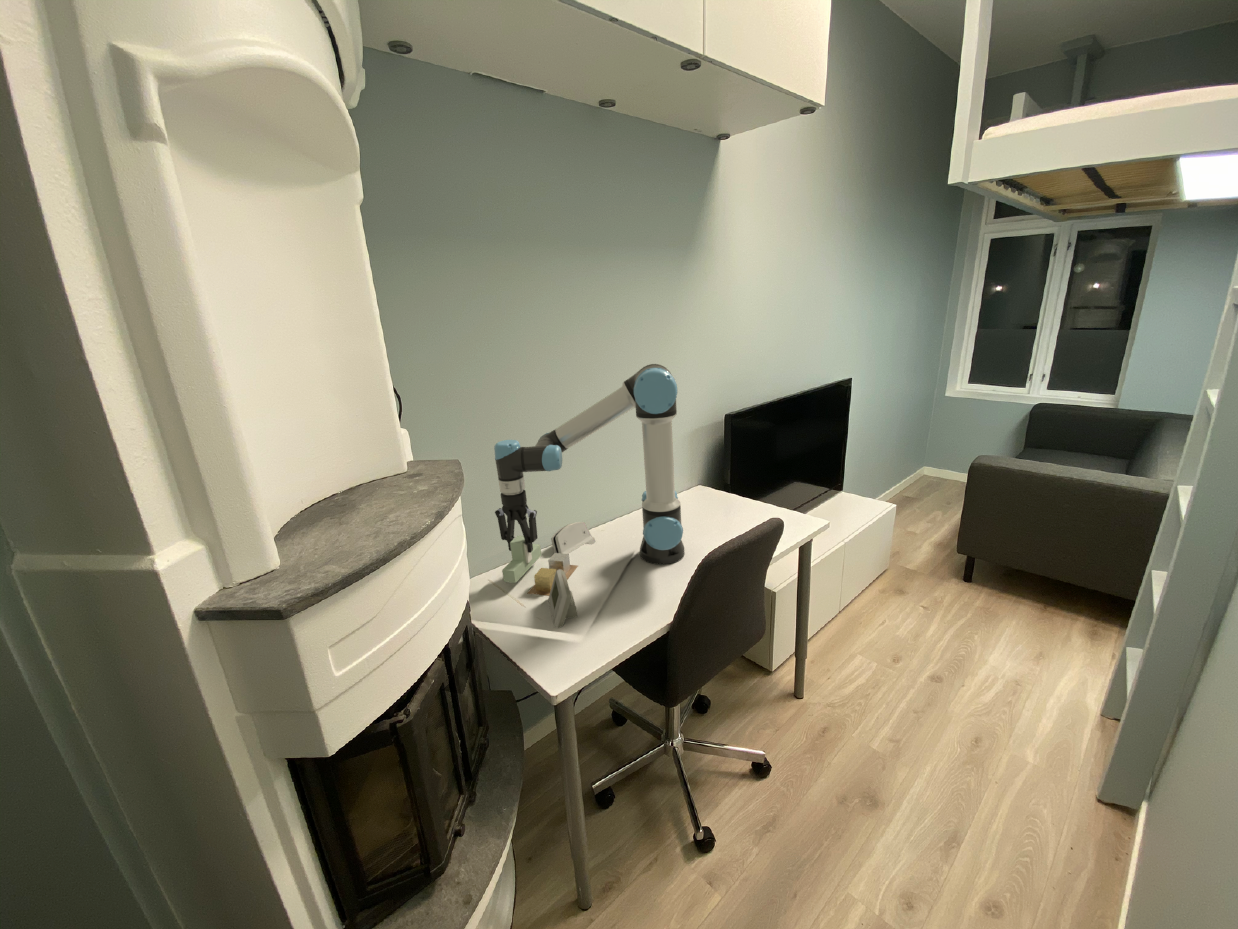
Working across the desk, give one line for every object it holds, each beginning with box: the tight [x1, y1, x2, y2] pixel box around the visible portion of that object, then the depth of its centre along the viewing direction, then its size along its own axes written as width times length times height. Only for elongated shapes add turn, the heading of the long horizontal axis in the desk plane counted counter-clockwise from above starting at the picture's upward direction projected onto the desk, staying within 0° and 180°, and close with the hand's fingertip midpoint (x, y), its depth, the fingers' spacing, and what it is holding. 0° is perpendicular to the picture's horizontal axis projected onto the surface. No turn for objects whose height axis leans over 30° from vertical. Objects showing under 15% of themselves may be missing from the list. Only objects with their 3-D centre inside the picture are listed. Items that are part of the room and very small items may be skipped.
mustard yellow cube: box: [533, 567, 556, 592], centre depth 157 cm, size 5×5×5 cm
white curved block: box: [550, 521, 597, 555], centre depth 184 cm, size 17×5×10 cm, turn 143°
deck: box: [526, 564, 579, 597], centre depth 163 cm, size 9×19×2 cm, turn 162°
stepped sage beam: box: [501, 535, 542, 584], centre depth 163 cm, size 4×18×10 cm, turn 162°
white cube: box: [547, 552, 571, 574], centre depth 166 cm, size 5×5×5 cm
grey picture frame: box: [547, 569, 578, 629], centre depth 144 cm, size 16×9×11 cm, turn 2°
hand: (522, 560), depth 164 cm, fingers closed on stepped sage beam, 4 cm apart
